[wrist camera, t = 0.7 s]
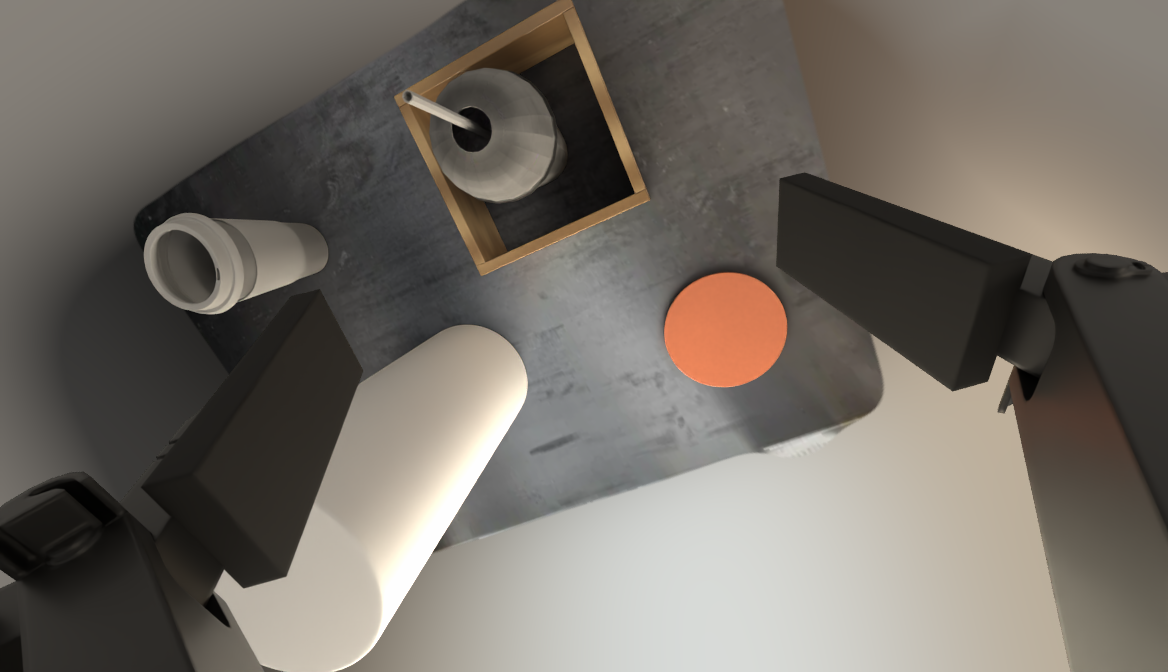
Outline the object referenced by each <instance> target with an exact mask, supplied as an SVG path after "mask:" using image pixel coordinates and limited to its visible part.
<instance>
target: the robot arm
mask: <svg viewBox="0 0 1168 672" xmlns="http://www.w3.org/2000/svg"><path fill="white" fill-rule="evenodd" d="M776 266H777V267H778V268H780V269H781V270H783V271H784V272H785V273H787V274H788V275H790V276H791V277H792V278H794V279H795V280H797V281H798V282H799V283H801V284H802V285H804V286H805V287H807V288H808V289H809V290H811V291H812V292H814V293H815V294H816V295H818V296H819V297H821V298H822V299H823V300H825V301H826V302H828V303H829V304H830V305H832V306H833V307H835V308H836V309H837V310H839V311H840V312H842V313H843V314H844V315H846V316H847V317H849V318H850V319H852V320H853V321H854V322H856V323H857V324H859V325H860V326H861V327H863V328H864V329H866V330H867V331H868V332H870V333H871V334H873V335H874V336H875V337H877V338H878V339H880V340H881V341H882V342H884V343H885V344H887V345H888V346H890V347H891V348H893V349H894V350H895V351H897V352H898V353H900V354H901V355H902V356H904V357H905V358H906V359H908V360H909V361H911V362H912V363H914V364H915V365H916V366H918V367H919V368H920V369H922V370H923V371H925V372H926V373H927V374H929V375H930V376H932V377H933V378H935V379H936V380H937V381H939V382H940V383H942V384H943V385H945V386H946V387H947V388H949V389H950V390H951V391H956V390H959V389H963V388H967V387H970V386H974V385H977V384H981V383H984V382H987V381H988V380H989V377H990V374H991V371H992V368H993V365H994V362H995V360H996V357H997V356H999V357H1001V358H1003V359H1004V360H1006V361H1008V362H1010V363H1011V364H1013V365H1014V367H1013V370H1012V372H1011V375H1010V377H1009V380H1008V383H1007V385H1006V388H1005V391H1004V394H1003V396H1002V399H1001V401H1000V404H999V408H998V412H999V413H1005V411H1006V409H1007V406H1009V405H1011V404H1013V406H1014V410H1015V415H1016V420H1017V424H1018V429H1019V433H1020V438H1021V443H1022V448H1023V452H1024V457H1025V462H1026V466H1027V471H1028V476H1029V480H1030V485H1031V490H1032V494H1033V499H1034V503H1035V508H1036V513H1037V518H1038V522H1039V527H1040V532H1041V536H1042V541H1043V546H1044V550H1045V555H1046V560H1047V564H1048V569H1049V574H1050V578H1051V583H1052V588H1053V592H1054V597H1055V601H1056V606H1057V611H1058V616H1059V621H1060V625H1061V630H1062V635H1063V639H1064V644H1065V649H1066V653H1067V658H1068V663H1069V667H1070V672H1168V272H1166V273H1161V272H1160V271H1158V270H1157V269H1155V268H1154V267H1153V266H1151V265H1149V264H1147V263H1146V262H1143V261H1138V260H1135V259H1131V258H1126V257H1121V256H1117V255H1109V254H1096V253H1090V254H1073V255H1067V256H1063V257H1060V258H1058V259H1056V260H1055V261H1053V262H1052V261H1049V260H1047V259H1044V258H1041V257H1038V256H1035V255H1033V254H1030V253H1027V252H1025V251H1022V250H1019V249H1016V248H1014V247H1011V246H1008V245H1005V244H1002V243H1000V242H997V241H994V240H991V239H988V238H985V237H983V236H980V235H977V234H975V233H971V232H969V231H966V230H963V229H961V228H958V227H955V226H952V225H950V224H947V223H944V222H941V221H938V220H935V219H933V218H930V217H927V216H925V215H922V214H919V213H916V212H913V211H910V210H908V209H905V208H902V207H900V206H897V205H894V204H891V203H888V202H886V201H883V200H880V199H877V198H875V197H872V196H869V195H866V194H863V193H861V192H858V191H855V190H852V189H849V188H847V187H844V186H841V185H838V184H835V183H833V182H830V181H827V180H824V179H822V178H819V177H816V176H813V175H811V174H808V173H801V174H796V175H792V176H788V177H784V178H780V186H779V211H778V236H777V261H776ZM362 373H363V369H362V367H361V365H360V364H359V362H358V360H357V358H356V356H355V354H354V352H353V350H352V349H351V347H350V345H349V343H348V341H347V339H346V337H345V335H344V334H343V332H342V330H341V328H340V326H339V324H338V322H337V321H336V319H335V317H334V315H333V313H332V311H331V309H330V307H329V306H328V304H327V302H326V300H325V298H324V296H323V294H322V292H321V291H320V289H319V290H315V291H311V292H307V293H303V294H298V295H294V296H291V297H290V298H289V300H288V301H287V302H286V303H285V305H284V306H283V307H282V308H281V310H280V311H279V312H278V314H277V315H276V316H275V317H274V319H273V320H272V321H271V322H270V324H269V325H268V326H267V327H266V329H265V330H264V331H263V333H262V334H261V335H260V336H259V338H258V339H257V340H256V341H255V343H254V344H253V345H252V346H251V348H250V349H249V350H248V352H247V353H246V354H245V355H244V357H243V358H242V359H241V360H240V362H239V363H238V364H237V365H236V367H235V368H234V369H233V371H232V372H231V373H230V374H229V376H228V377H227V378H226V379H225V381H224V382H223V383H222V385H221V386H220V387H219V388H218V390H217V391H216V392H215V393H214V395H213V396H212V397H211V399H210V400H209V401H208V402H207V404H206V405H205V406H204V407H203V408H202V409H201V410H200V411H199V412H197V413H196V414H195V415H193V416H192V417H191V418H190V419H188V420H187V421H186V422H185V423H184V424H183V425H182V426H181V427H180V429H179V430H178V431H177V432H176V433H175V435H174V436H173V437H172V438H171V440H170V441H169V445H166V446H165V447H164V448H163V450H162V451H161V452H160V453H159V455H158V456H157V457H156V458H157V460H156V461H153V462H152V463H151V465H150V466H149V467H148V468H147V469H146V471H145V472H144V473H143V474H142V476H141V477H140V478H139V479H138V481H137V482H136V483H135V484H134V485H133V487H132V488H131V489H130V490H129V492H128V493H127V494H126V495H125V496H124V498H123V499H122V500H121V501H120V503H118V502H117V501H116V500H115V499H114V498H113V497H112V496H111V495H110V494H109V493H108V492H107V491H106V490H105V489H103V488H102V487H101V486H100V485H99V484H98V483H97V482H96V481H95V480H94V479H93V478H92V477H90V476H89V475H88V474H86V473H85V472H72V473H67V474H64V475H61V476H58V477H55V478H51V479H49V480H47V481H45V482H43V483H41V484H39V485H37V486H34V487H32V488H30V489H28V490H27V491H25V492H23V493H21V494H20V495H18V496H16V497H15V498H13V499H11V500H10V501H8V502H6V503H5V504H4V505H2V506H1V507H0V570H2V571H3V572H4V573H6V574H7V575H9V576H10V577H12V578H13V579H14V580H16V581H15V582H13V583H11V584H9V585H7V586H5V587H2V588H0V672H264V671H263V668H262V667H261V665H260V663H259V661H258V659H257V658H256V656H255V654H254V652H253V650H252V649H251V647H250V645H249V643H248V641H247V640H246V638H245V636H244V634H243V632H242V631H241V629H240V627H239V625H238V623H237V621H236V620H235V618H234V616H233V614H232V612H231V611H230V609H229V607H228V605H227V603H226V602H225V601H224V600H223V599H222V598H221V597H220V596H219V595H218V594H217V593H216V592H215V591H214V589H215V587H216V585H217V583H218V581H219V579H220V577H221V575H222V573H223V571H224V570H225V571H226V572H227V573H228V574H229V575H230V576H231V577H232V578H233V579H234V580H235V581H236V582H237V583H238V584H239V585H240V586H241V587H242V588H243V589H245V588H248V587H252V586H255V585H259V584H262V583H266V582H270V581H273V580H277V579H280V578H284V577H287V574H288V571H289V569H290V566H291V563H292V561H293V558H294V555H295V553H296V550H297V547H298V544H299V542H300V539H301V536H302V534H303V531H304V528H305V526H306V523H307V520H308V518H309V515H310V512H311V510H312V507H313V504H314V502H315V499H316V496H317V494H318V491H319V488H320V486H321V483H322V480H323V477H324V475H325V472H326V469H327V467H328V464H329V461H330V459H331V456H332V453H333V451H334V448H335V445H336V443H337V440H338V437H339V435H340V432H341V429H342V427H343V424H344V421H345V418H346V416H347V413H348V410H349V408H350V405H351V402H352V400H353V397H354V394H355V392H356V389H357V386H358V384H359V381H360V378H361V376H362Z"/></svg>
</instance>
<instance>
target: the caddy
mask: <svg viewBox="0 0 1168 672" xmlns="http://www.w3.org/2000/svg"><path fill="white" fill-rule="evenodd" d="M574 43H575V45H576V47H577V50H578V52H579V55H580V57H581V60H582V62H583V65H584V67H585V70H586V72H587V75H588V77H589V80H590V82H591V85H592V87H593V90H594V92H595V95H596V97H597V100H598V102H599V105H600V107H601V110H602V112H603V115H604V117H605V120H606V122H607V125H608V127H609V130H610V132H611V135H612V137H613V140H614V142H615V145H616V147H617V150H618V152H619V155H620V157H621V160H622V162H623V165H624V167H625V170H626V172H627V175H628V177H629V180H630V182H631V185H632V187H633V190H634V192H635V194H633V195H631V196H629V197H627V198H624V199H622V200H620V201H618V202H616V203H613V204H611V205H609V206H607V207H605V208H603V209H600V210H598V211H596V212H594V213H592V214H589V215H587V216H585V217H583V218H581V219H579V220H576V221H574V222H572V223H570V224H568V225H566V226H563V227H561V228H559V229H557V230H555V231H552V232H550V233H548V234H546V235H544V236H542V237H539V238H537V239H535V240H533V241H531V242H528V243H526V244H524V245H522V246H520V247H518V248H515V249H513V250H511V251H509V252H507V249H506V247H505V245H504V243H503V241H502V239H501V237H500V235H499V232H498V230H497V228H496V226H495V224H494V222H493V220H492V218H491V215H490V213H489V211H488V209H487V207H486V205H485V203H484V201H481V200H478V199H477V198H475V197H473V196H471V195H470V194H468V193H466V192H464V191H463V190H462V189H460V188H458V187H457V186H456V185H455V184H454V183H453V182H452V181H451V180H450V179H449V178H448V177H447V176H446V175H445V174H444V173H443V171H442V169H441V167H440V165H439V163H438V161H437V159H436V157H435V156H434V154H433V150H432V145H431V140H430V135H429V130H430V116H431V113H428V112H426V111H424V110H422V109H420V108H417V107H415V106H413V105H411V104H408V103H406V102H404V100H403V98H402V95H403V92H404V91H405V90H404V91H402V92H401V93H399V94H397V95H396V96H394V98H395V100H396V103H397V105H398V107H399V109H400V111H401V113H402V115H403V117H404V119H405V121H406V123H407V125H408V127H409V129H410V131H411V133H412V136H413V138H414V140H415V142H416V144H417V146H418V148H419V150H420V152H421V154H422V156H423V158H424V160H425V162H426V164H427V166H428V168H429V170H430V172H431V174H432V176H433V178H434V181H435V183H436V185H437V187H438V189H439V191H440V193H441V195H442V197H443V199H444V201H445V203H446V205H447V207H448V209H449V211H450V213H451V215H452V217H453V219H454V221H455V224H456V226H457V228H458V230H459V232H460V234H461V236H462V238H463V240H464V242H465V244H466V246H467V248H468V250H469V252H470V254H471V256H472V258H473V260H474V262H475V264H476V266H477V269H478V271H479V273H480V275H481V276H483V275H485V274H487V273H489V272H491V271H494V270H496V269H498V268H500V267H503V266H505V265H507V264H509V263H511V262H514V261H516V260H518V259H520V258H522V257H525V256H527V255H529V254H531V253H534V252H536V251H538V250H540V249H542V248H545V247H547V246H549V245H551V244H553V243H556V242H558V241H560V240H562V239H565V238H567V237H569V236H571V235H573V234H576V233H578V232H580V231H582V230H584V229H587V228H589V227H591V226H593V225H596V224H598V223H600V222H602V221H604V220H607V219H609V218H611V217H613V216H615V215H618V214H620V213H622V212H624V211H627V210H629V209H631V208H633V207H635V206H638V205H640V204H642V203H644V202H646V201H649V200H650V196H649V193H648V191H647V188H646V186H645V183H644V181H643V178H642V176H641V173H640V171H639V168H638V165H637V163H636V160H635V158H634V155H633V153H632V150H631V148H630V145H629V143H628V140H627V138H626V135H625V133H624V130H623V127H622V125H621V122H620V120H619V117H618V115H617V112H616V110H615V107H614V105H613V102H612V100H611V97H610V95H609V92H608V89H607V87H606V84H605V82H604V79H603V77H602V74H601V72H600V69H599V67H598V64H597V62H596V59H595V57H594V54H593V51H592V49H591V46H590V44H589V41H588V39H587V36H586V34H585V31H584V29H583V26H582V24H581V21H580V19H579V17H578V14H577V12H576V9H575V7H574V4H573V2H572V0H558V1H556V2H554V3H552V4H551V5H549V6H547V7H546V8H544V9H542V10H541V11H539V12H537V13H535V14H534V15H532V16H530V17H529V18H527V19H525V20H523V21H522V22H520V23H518V24H517V25H515V26H513V27H512V28H510V29H508V30H506V31H505V32H503V33H501V34H500V35H498V36H496V37H494V38H493V39H491V40H489V41H488V42H486V43H484V44H483V45H481V46H479V47H477V48H476V49H474V50H472V51H471V52H469V53H467V54H465V55H464V56H462V57H460V58H459V59H457V60H455V61H454V62H452V63H450V64H448V65H447V66H445V67H443V68H442V69H440V70H438V71H436V72H435V73H433V74H431V75H430V76H428V77H426V78H425V79H423V80H421V81H419V82H418V83H416V84H414V85H413V86H411V87H409V88H407V89H406V90H410V91H412V92H414V93H416V94H418V95H420V96H423V97H425V98H427V99H429V100H431V101H433V102H436V99H437V97H438V96H439V94H440V93H441V92H442V91H443V89H444V88H445V87H446V86H447V84H448V83H449V82H451V81H452V80H454V79H455V78H457V77H459V76H460V75H462V74H464V73H465V72H467V71H472V70H477V69H482V68H491V69H493V68H495V69H500V70H506V71H512V72H515V73H517V74H520V73H522V72H523V71H525V70H527V69H529V68H530V67H532V66H534V65H536V64H538V63H539V62H541V61H543V60H545V59H547V58H548V57H550V56H552V55H554V54H556V53H557V52H559V51H561V50H563V49H565V48H566V47H568V46H570V45H572V44H574Z"/></svg>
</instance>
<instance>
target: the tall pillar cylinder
mask: <svg viewBox="0 0 1168 672" xmlns="http://www.w3.org/2000/svg"><path fill="white" fill-rule="evenodd" d="M526 394H527V374H526V370H525V366H524V364H523V361H522V359H521V357H520V356H519V354H518V352H517V351H516V350H515V348H514V347H513V346H512V345H511V344H510V343H509V342H508V341H507V340H506V339H505V338H503V337H502V336H501V335H499V334H497V333H496V332H494V331H492V330H490V329H487V328H484V327H481V326H476V325H457V326H453V327H450V328H447V329H445V330H443V331H441V332H439V333H438V334H436V335H434V336H433V337H431V338H430V339H428V340H427V341H425V342H423V343H422V344H420V345H419V346H417V347H416V348H414V349H413V350H411V351H410V352H408V353H406V354H405V355H403V356H402V357H400V358H399V359H397V360H396V361H394V362H392V363H391V364H389V365H388V366H386V367H385V368H383V369H382V370H380V371H378V372H377V373H375V374H374V375H372V376H371V377H369V378H368V379H366V380H364V381H363V382H361V383H360V384H358V386H357V389H356V392H355V394H354V397H353V400H352V402H351V405H350V408H349V410H348V413H347V416H346V418H345V421H344V424H343V427H342V429H341V432H340V435H339V437H338V440H337V443H336V445H335V448H334V451H333V453H332V456H331V459H330V461H329V464H328V467H327V469H326V472H325V475H324V477H323V480H322V483H321V486H320V488H319V491H318V494H317V496H316V499H315V502H314V504H313V507H312V510H311V512H310V515H309V518H308V520H307V523H306V526H305V528H304V531H303V534H302V536H301V539H300V542H299V544H298V547H297V550H296V553H295V555H294V558H293V561H292V563H291V566H290V569H289V571H288V574H287V577H284V578H280V579H277V580H273V581H270V582H266V583H262V584H259V585H255V586H252V587H248V588H245V589H243V588H242V587H241V586H240V585H239V584H238V583H237V582H236V581H235V580H234V579H233V578H232V577H231V576H230V575H229V574H228V573H227V572H226V571H225V570H224V571H223V573H222V575H221V577H220V579H219V581H218V583H217V585H216V587H215V589H214V591H215V592H216V593H217V594H218V595H219V596H220V597H221V598H222V599H223V600H224V601H225V602H226V603H227V605H228V607H229V609H230V611H231V612H232V614H233V616H234V618H235V620H236V621H237V623H238V625H239V627H240V629H241V631H242V632H243V634H244V636H245V638H246V640H247V641H248V643H249V645H250V647H251V649H252V650H253V652H254V654H255V656H256V658H257V659H258V661H259V663H260V664H261V665H264V666H267V667H269V668H272V669H276V670H280V671H284V672H333V671H337V670H340V669H343V668H346V667H348V666H350V665H352V664H354V663H355V662H357V661H358V660H360V659H361V658H362V657H364V656H365V655H366V654H367V653H368V652H369V651H370V650H371V649H372V647H373V646H374V645H375V644H376V642H377V641H378V639H379V637H380V636H381V634H382V633H383V631H384V629H385V628H386V626H387V624H388V623H389V621H390V620H391V618H392V616H393V615H394V613H395V611H396V610H397V608H398V607H399V605H400V603H401V602H402V600H403V599H404V597H405V595H406V594H407V592H408V590H409V589H410V587H411V586H412V584H413V582H414V581H415V579H416V577H417V576H418V574H419V572H420V571H421V569H422V568H423V566H424V565H425V563H426V561H427V560H428V558H429V556H430V555H431V553H432V552H433V550H434V548H435V547H436V545H437V543H438V542H439V540H440V539H441V537H442V535H443V534H444V532H445V531H446V529H447V527H448V526H449V524H450V522H451V521H452V519H453V518H454V516H455V514H456V513H457V511H458V509H459V508H460V506H461V505H462V503H463V501H464V500H465V498H466V497H467V495H468V493H469V492H470V490H471V488H472V487H473V485H474V484H475V482H476V480H477V479H478V477H479V475H480V474H481V472H482V471H483V469H484V467H485V466H486V464H487V462H488V461H489V459H490V458H491V456H492V454H493V453H494V451H495V450H496V448H497V446H498V445H499V443H500V441H501V440H502V438H503V437H504V435H505V433H506V432H507V430H508V428H509V427H510V425H511V424H512V422H513V420H514V419H515V417H516V415H517V414H518V412H519V411H520V409H521V407H522V405H523V403H524V401H525V398H526Z"/></svg>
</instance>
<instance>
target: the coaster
mask: <svg viewBox="0 0 1168 672" xmlns="http://www.w3.org/2000/svg"><path fill="white" fill-rule="evenodd" d="M664 336H665V343H666V347H667V350H668V353H669V355H670V357H671V359H672V360H673V362H674V363H675V365H676V366H677V367H678V368H679V369H680V370H681V371H682V372H683V373H684V374H686V375H687V376H688V377H690V378H691V379H693V380H695V381H697V382H700V383H702V384H706V385H709V386H716V387H731V386H737V385H741V384H744V383H747V382H750V381H752V380H754V379H756V378H757V377H759V376H760V375H762V374H763V373H765V372H766V371H767V370H768V369H769V368H770V367H771V366H772V365H773V364H774V363H775V361H776V360H777V358H778V357H779V355H780V353H781V352H782V349H783V347H784V344H785V340H786V336H787V319H786V314H785V311H784V308H783V306H782V304H781V302H780V300H779V298H778V297H777V296H776V294H775V293H774V292H773V291H772V290H771V289H770V288H769V287H768V286H767V285H765V284H764V283H763V282H761V281H760V280H758V279H756V278H754V277H752V276H749V275H746V274H742V273H737V272H718V273H713V274H709V275H706V276H703V277H701V278H699V279H697V280H695V281H693V282H692V283H690V284H689V285H687V286H686V287H685V288H684V289H683V290H682V291H681V292H680V293H679V294H678V295H677V296H676V298H675V299H674V301H673V302H672V304H671V306H670V308H669V310H668V312H667V316H666V319H665V326H664Z"/></svg>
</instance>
